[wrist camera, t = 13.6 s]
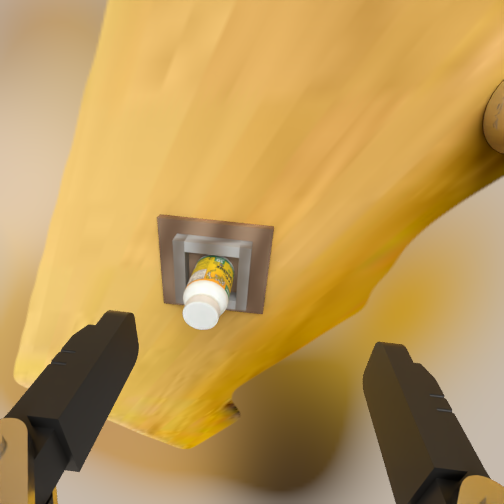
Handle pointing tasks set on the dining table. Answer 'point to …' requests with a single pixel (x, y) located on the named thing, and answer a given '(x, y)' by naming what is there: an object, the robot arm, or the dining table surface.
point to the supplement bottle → (208, 291)
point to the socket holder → (221, 244)
